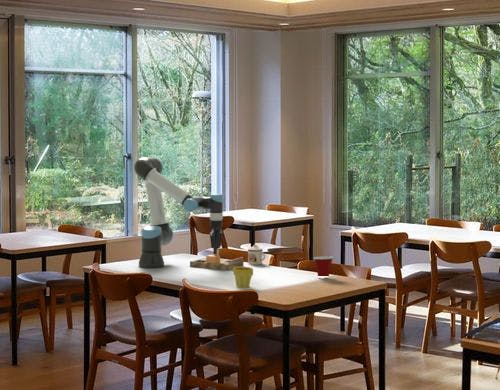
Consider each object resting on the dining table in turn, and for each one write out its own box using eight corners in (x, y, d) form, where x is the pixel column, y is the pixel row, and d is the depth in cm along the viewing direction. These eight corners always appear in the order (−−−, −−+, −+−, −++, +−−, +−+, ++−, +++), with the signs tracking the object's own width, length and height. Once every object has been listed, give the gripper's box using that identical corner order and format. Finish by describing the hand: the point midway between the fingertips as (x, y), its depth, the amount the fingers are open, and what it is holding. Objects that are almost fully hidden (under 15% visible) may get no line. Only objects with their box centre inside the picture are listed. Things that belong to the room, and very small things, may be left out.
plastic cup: (319, 275, 518) (320, 254, 517) (336, 277, 512) (336, 256, 511) (309, 278, 509) (309, 256, 508) (326, 280, 503) (326, 258, 502)
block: (206, 262, 541) (206, 255, 541) (211, 261, 546) (211, 254, 546) (215, 263, 538) (215, 256, 538) (220, 262, 544) (220, 255, 543)
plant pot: (255, 288, 478) (255, 269, 477) (236, 289, 475) (236, 270, 474) (249, 284, 488) (249, 266, 487) (230, 285, 485) (231, 267, 484)
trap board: (189, 266, 545) (189, 257, 545) (204, 262, 560) (204, 253, 560) (229, 270, 533) (229, 260, 533) (243, 266, 548) (243, 257, 548)
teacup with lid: (244, 263, 558) (244, 244, 557) (253, 262, 565) (254, 243, 564) (260, 265, 550) (260, 246, 549) (269, 264, 557) (269, 245, 556)
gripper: (216, 221, 536) (216, 261, 538) (227, 219, 548) (226, 258, 550) (205, 220, 540) (205, 260, 542) (216, 218, 551) (215, 257, 553)
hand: (216, 259), depth 546 cm, fingers closed
